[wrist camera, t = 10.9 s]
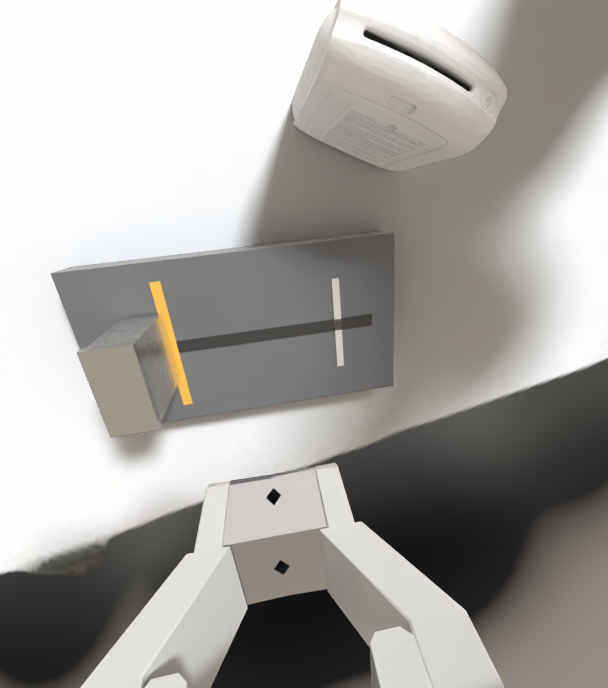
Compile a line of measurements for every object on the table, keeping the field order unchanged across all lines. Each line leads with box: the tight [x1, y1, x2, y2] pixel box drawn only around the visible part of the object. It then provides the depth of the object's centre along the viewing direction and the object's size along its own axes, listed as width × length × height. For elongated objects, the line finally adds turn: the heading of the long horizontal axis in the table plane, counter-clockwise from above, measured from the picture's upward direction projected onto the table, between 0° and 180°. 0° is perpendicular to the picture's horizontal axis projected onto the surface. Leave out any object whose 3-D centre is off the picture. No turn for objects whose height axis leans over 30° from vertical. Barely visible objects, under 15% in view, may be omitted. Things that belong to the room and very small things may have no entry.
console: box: [51, 231, 394, 423], centre depth 29 cm, size 26×14×3 cm, turn 96°
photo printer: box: [292, 0, 507, 172], centre depth 20 cm, size 10×4×12 cm, turn 71°
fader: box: [77, 315, 179, 437], centre depth 24 cm, size 3×6×7 cm, turn 6°
